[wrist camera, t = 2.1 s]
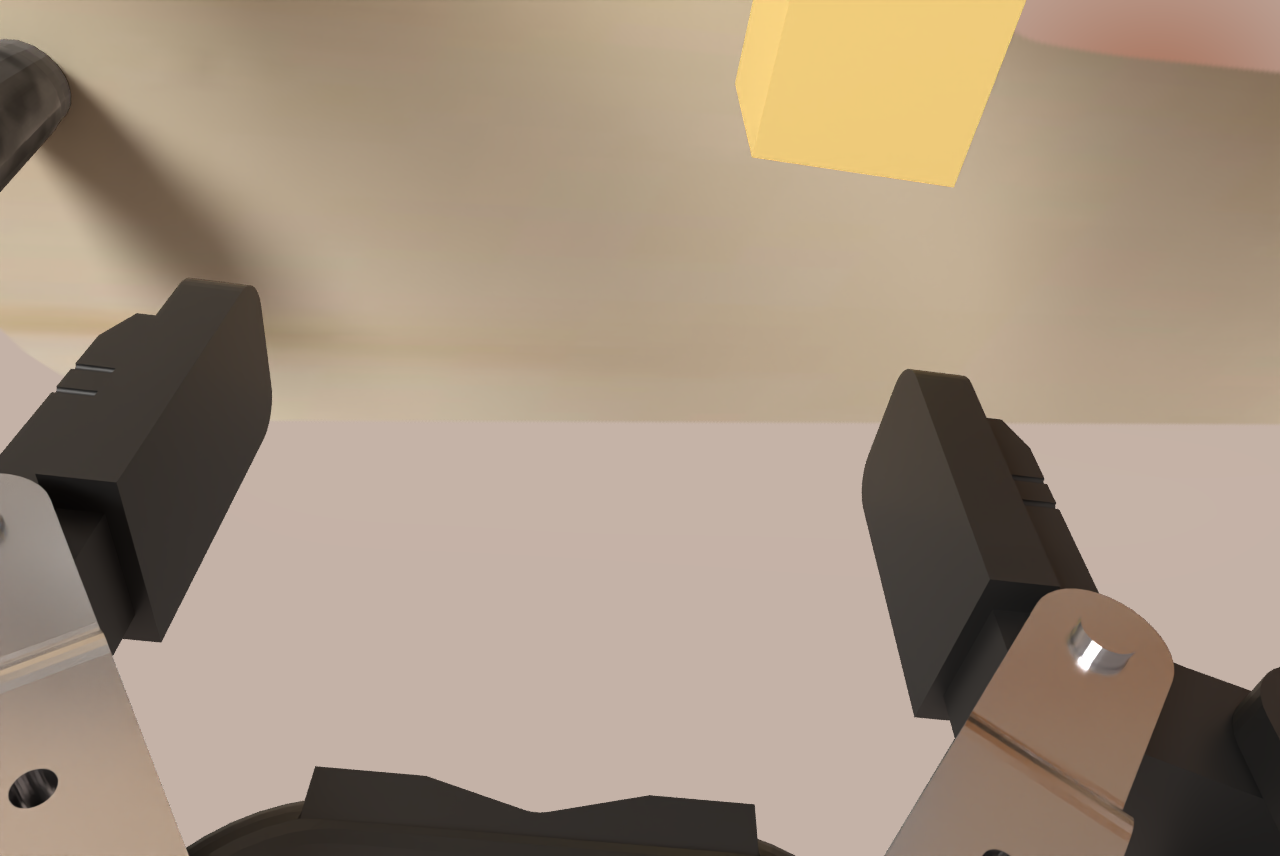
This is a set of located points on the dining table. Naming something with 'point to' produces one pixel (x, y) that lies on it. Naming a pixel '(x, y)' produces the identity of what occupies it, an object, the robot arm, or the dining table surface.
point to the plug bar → (871, 82)
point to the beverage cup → (27, 103)
